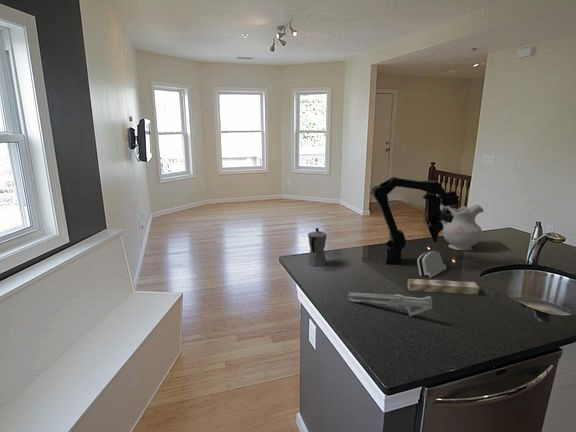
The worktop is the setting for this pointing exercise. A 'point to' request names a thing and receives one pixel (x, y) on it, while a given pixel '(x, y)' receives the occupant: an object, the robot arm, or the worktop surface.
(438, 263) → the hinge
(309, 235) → the coffeepot
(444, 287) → the beige wooden bar
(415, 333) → the worktop surface
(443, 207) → the ceramic pitcher
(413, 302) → the gun
